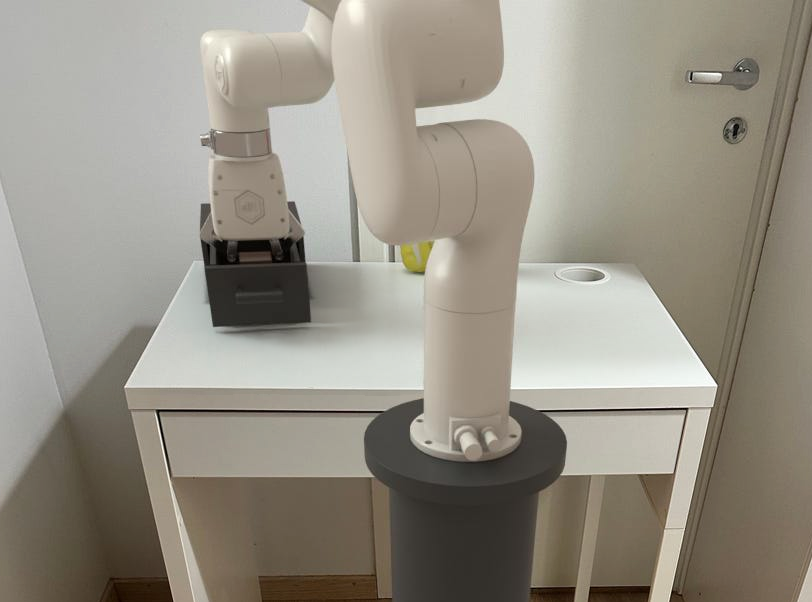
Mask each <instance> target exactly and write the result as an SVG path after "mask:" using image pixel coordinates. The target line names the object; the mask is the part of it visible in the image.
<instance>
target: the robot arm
mask: <svg viewBox="0 0 812 602" xmlns="http://www.w3.org/2000/svg"><path fill="white" fill-rule="evenodd" d="M300 1H301V2H303V3H304V4H306V5H308V6H310V8H309V10H308V14H307V17H306V20H305V24H304V26H303V28H302V30H301V31H283V32H281V31H280V32H279V31H278V32H261V33H255V32H252V31H250V30H246V29H245V30H244V29H232V28H231V29H230V28H227V29H212V30H207V31H206V32H204V33H203V34H202V36H201V38H200V41H199V48H200V57H201V58H200V59H201V66H202V73H203V82H204V88H205V95H206V96H205V97H206V103H207V110H208V118H209V125H210V130H209V131H208V132H206V133H205V134H203V133H202V134H199V136H200V143H201V147H207V148H210V149H211V150H213V153H212V154H210V155H209V156H208V164H207V166H208V167H207V171H208V172H207V173H208V174H207V175H208V188H209V189H208V191H209V201H210V202H209V203H210V204H211V212H210V214H209V216H208V218H207V220H206V222H205V224H204V225H203V227H202V229H201V231H200V230H199V239H200V238H201V239H202V240H203V241H205V242H207V243H208V244H210V245H211V246H213V247H215V248H216V249H217V250H218V251H219V252H220V253H221V254H223V255H224V256H225V257H226V258H227V259H228V261H230V265H240V261H239V258H238V253H237V242H238V241H239V240H268V239H269V241H270V244H271V247H272V250H273V251H272V256H271V258H272V263H282V259H283V256H284V255H285V254H286V253H287V251H288V250H289V249H290V248H291V247H292V245H293V244H294V243H296V242H297V241H298V240H299V239H301V238H302V237H305V234H306V232H305V229H304V227H303V226H301V225H302V224H301V225H300V223H299V222H298V221H297V220H296V218H295V217H294V216H293V214H292V213H291V212H290V211H289V209H288V204H287V202H288V198H287V197H288V196H287V191H286V184H285V177H284V173H283V169H282V164H281V161H280V157H279V155H278V154H277V153H276V152H273V144H272V135H271V126H270V125H271V124H270V113H269V109H270V108H271V109H272V108H278V107H287V106H301V105H312V104H315V103H319V102H320V101H321V100H322V99H324V98H326V96H327V95H328V94H329V92H330V90H331V89H332V87H333V84H334V85H335V90H336V97H337V102H338V107H339V114H340V119H341V123H342V131H343V135H344V140H345V145H346V151H347V158H348V162H349V163H348V164H349V167H350V173H351V178H352V184H353V188H354V194H355V198H356V202H357V205H358V209H359V212H360V215H361V217H362V219H363V222H364V224H365V226H366V228H367V229H368V230H369V232H370V233H371V234H372V235H373V237H375V239H377V240H378V241H379V242H382V243H383V244H386V245H388V246H394V247H395V246H396V247H400V246H403V245H411V244H417V243H424V242H429V241H434V240H435V242H434V245H433V247H432V250H431V252H430V255H429V258H428V261H427V265H426V270H425V271H424V278H423V398H424V413H423V414H421V415H420V416H418V417H417V418H416V419H415V420H413V422H412V424H411V426H410V438H411V441H412V443H413V444H414V445H415V446H416V447H417V448H418V449H419V450H421V451H422V452H424V453H426V454H428V455H431V456H433V457H436V458H440V459H443V460H449V461H456V462H481V461H488V460H493V459H497V458H500V457H503V456H505V455H507V454H509V453H511V452H512V451H514V450H515V449H516V448H517V447H518V446H519V444H520V442H521V432H522V430H521V427H520V425H519V424H518V423H517V421H516V420H514V419H513V418H512V417H510V416H509V405H510V401H511V387H512V386H511V385H512V371H513V356H514V355H513V353H514V338H515V337H514V336H515V321H516V319H515V318H516V305H517V292H518V277H519V265H520V258H521V257H520V256H521V249H522V243H523V237H524V232H525V228H526V224H527V221H528V217H529V212H530V208H531V204H532V199H533V194H534V186H535V164H534V159H533V155H532V152H531V149H530V147H529V145H528V142H527V141H526V139H525V138H524V137H523V135H521V133H520V132H519V131H518V130H517V129H515V128H514V127H512V126H511V125H510V124H507V123H504V122H502V121H499V120H494V119H487V118H477V119H474V118H473V119H465V120H455V121H454V120H453V121H446V122H445V121H444V122H438V123H434V124H424V125H417V118H416V117H417V115H416V109H424V108H426V109H427V108H434V107H435V108H436V107H444V106H445V107H446V106H454V105H461V104H468V103H473V102H476V101H479V100H482V99H483V98H486V97H488V96H489V95H490V94H491V93H493V92H494V91H495V90H496V88H497V87H498V85H499V83H500V82H501V79H502V75H503V71H504V66H505V49H504V48H505V47H504V35H503V23H502V13H501V4H500V0H300ZM290 228H291V229H292V231H291V232H290V233H289V229H290ZM213 229H214V231H215V234H216V235H214V234H213V233H212V231H213ZM283 237H284V238H283ZM280 238H283V239H282V240H281V242H280V241H279V239H280ZM201 239H200V240H201ZM222 239H223V240H228V243H225V242H224V241H223V240H222Z"/></svg>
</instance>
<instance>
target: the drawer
mask: <svg viewBox="0 0 812 602" xmlns="http://www.w3.org/2000/svg"><path fill="white" fill-rule="evenodd" d="M283 238H284V237H283ZM283 238H280V239H279V241H280V242H281V240H282V239H283ZM222 240H223V239H222ZM223 241H224V242H225V243H228V240H223ZM272 251H273V250H272V247H271V244H270V241H269V239H268V240H239V241H238V242H237V253H238V258H239V253H244V252H271V256H272ZM203 267H204V266H203ZM204 275H205V276H204V277H205V282H206V289H207V296H208V303H209V308H210V310H209V311H210V317H211V323H212V328H223V327H224V328H225V327H242V326H245V327H246V326H263V325H264V326H266V325H285V324H287V325H288V324H307V323H309V324H310V323H312V313H311V302H310V288H309V287H310V286H309V276H308V275H309V274H308V264H307V262H300V258H299V254H298V250H297V246H296V243H294V244H293V245H292V247H291V248H290V249H289V250H288V251H287V253H286V254H285V255H284V256H283V259H282V263H272V264H244V265H230V261H228V259H227V258H226V257H225V256H224V255H223V254H221V253H220V252H219V251H218V250H217V249H216V248H215V247H213V246H211V245H210V266H205V267H204Z"/></svg>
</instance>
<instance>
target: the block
mask: <svg viewBox="0 0 812 602" xmlns="http://www.w3.org/2000/svg"><path fill="white" fill-rule="evenodd" d="M239 261H240V265H244V264H272V258H271V252H244V253H239Z"/></svg>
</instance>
